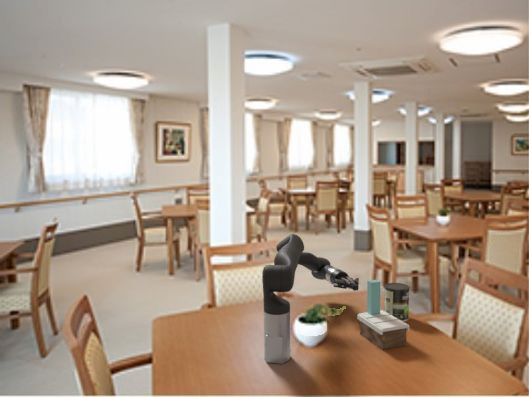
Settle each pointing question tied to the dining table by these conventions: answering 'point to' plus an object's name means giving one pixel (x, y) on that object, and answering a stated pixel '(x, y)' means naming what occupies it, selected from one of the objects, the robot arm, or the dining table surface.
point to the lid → (378, 312)
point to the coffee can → (397, 300)
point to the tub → (384, 337)
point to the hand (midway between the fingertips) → (356, 288)
